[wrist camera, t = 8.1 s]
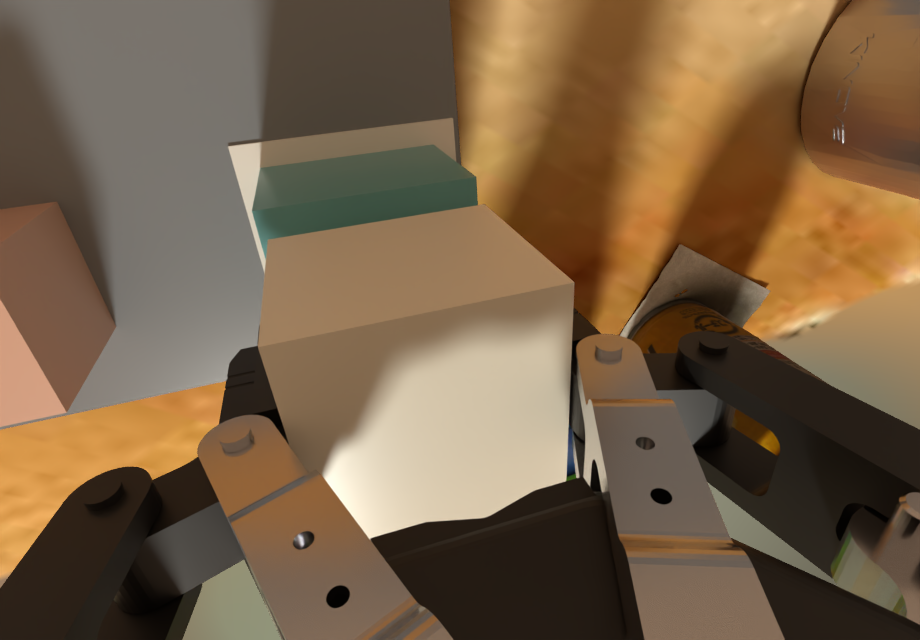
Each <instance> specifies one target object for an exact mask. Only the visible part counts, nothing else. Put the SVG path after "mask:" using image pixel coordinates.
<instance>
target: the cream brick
mask: <svg viewBox="0 0 920 640" xmlns="http://www.w3.org/2000/svg"><path fill="white" fill-rule="evenodd" d="M574 283H575V282H574V281H572V280H571V279H570V278H569V277H568V276H567V275H566V274H564V273H563V272H562V271H561V270H560V269H559V268H557V267H556V266H555V265H554V264H553V263H552V262H551V261H549V260H548V259H547V258H546V257H545V256H544V255H542V254H541V253H540V252H539V251H538V250H537V249H536V248H534V247H533V246H532V245H531V244H530V243H529V242H527V241H526V240H525V239H524V238H523V237H522V236H521V235H519V234H518V233H517V232H516V231H515V230H514V229H512V228H511V227H510V226H509V225H508V224H507V223H506V222H504V221H503V220H502V219H501V218H500V217H499V216H497V215H496V214H495V213H494V212H493V211H492V210H491V209H489V208H488V207H487V206H486V205H485V204H482V205H476V206H470V207H464V208H458V209H452V210H445V211H439V212H433V213H427V214H421V215H415V216H409V217H403V218H397V219H391V220H384V221H378V222H372V223H366V224H360V225H354V226H348V227H342V228H336V229H330V230H324V231H317V232H311V233H305V234H299V235H293V236H287V237H281V238H275V239H269V240H268V243H267V254H266V264H265V275H264V286H263V297H262V308H261V319H260V330H259V340H258V349H259V352H260V355H261V358H262V362H263V365H264V368H265V371H266V374H267V377H268V380H269V383H270V387H271V390H272V393H273V396H274V399H275V402H276V405H277V408H278V412H279V415H280V418H281V421H282V424H283V427H284V430H285V433H286V437H287V440H288V443H289V446H290V447H291V449H292V450H293V451H294V453H295V454H296V456H297V457H298V458H299V460H300V461H301V463H302V464H303V465H304V467H305V468H306V469H307V471H308V472H309V473H310V472H312V471H313V470H317V471H318V472H319V473H320V474H321V475H322V476H323V478H324V479H325V480H326V482H327V483H328V484H329V486H330V487H331V488H332V490H333V491H334V492H335V494H336V495H337V496H338V498H339V499H340V500H341V502H342V503H343V504H344V506H345V507H346V508H347V510H348V511H349V512H350V514H351V515H352V516H353V518H354V519H355V520H356V522H357V523H358V524H359V526H360V527H361V528H362V530H363V531H364V532H365V534H366V535H367V536H368V538H369V539H370V538H373V537H376V536H380V535H383V534H387V533H390V532H393V531H397V530H400V529H404V528H407V527H411V526H414V525H417V524H421V523H424V522H433V521H448V520H463V519H477V518H485V517H488V516H490V515H492V514H494V513H496V512H497V511H499V510H501V509H503V508H504V507H506V506H508V505H510V504H511V503H513V502H515V501H517V500H518V499H520V498H522V497H524V496H526V495H527V494H529V493H531V492H533V491H534V490H538V489H541V488H545V487H548V486H552V485H555V484H558V483H562V482H565V481H566V477H567V453H568V428H569V404H570V380H571V355H572V331H573V307H574Z"/></svg>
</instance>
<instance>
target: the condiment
mask: <svg viewBox="0 0 920 640" xmlns="http://www.w3.org/2000/svg"><path fill="white" fill-rule="evenodd" d="M685 289H687V291H686V292H685V293H683V294H681V292H682V291H683V290H685ZM769 292H770V290H768V289H766V288H764V287H762V286H760V285H758V284H756V283H754V282H753V281H751V280H749V279H747V278H745V277H743V276H741V275H739V274H737V273H735V272H733V271H731V270H729V269H727V268H725V267H724V266H722V265H720V264H717V263H716V262H714V261H712V260H710V259H708V258H706V257H704V256H702V255H700V254H698V253H696V252H695V251H693V250H691V249H689V248H687V247H685V246H683V245H681V244H680V245H679V246H678V248H677V250H676V251H675V253H674V254H673V257H672V258H671V260H670V261H669V263H668V264H667V265H666V266H665V268H664V269H663V271H662V272H661V275H660V277H659V279H658V280H657V282H656V283H655V284H654V285H653V287H652V288H651V290H650V291H649V293H648V295H647V297H646V298H645V300H644V301H643V302H642V303H641V305H640V307H639V308H638V309H637V311H636V312H635V313H634V315H633V316H632V317H631V319H630V320H629V322H628V323H627V325H626V326H625V327H624V329H623V331H622V332H621V334H620V336H622V337H625V338H628V339H630V340H632V341H633V342H635V343H636V344H637V345H638V346H639V347H640V349H641V351H642V353H677V347H678V342H679V340H680V338H681V337H682V336H684V335H686V334H688V333H692V332H698V331H710V332H717V333H722V334H725V335H728V336H731V337H733V338H735V339H737V340H739V341H741V342H743V343H745V344H747V345H749V346H751V347H753V348H755V349H758V350H760V351H762V352H764V353H766V354H768V355H770V356H772V357H774V358H776V359H778V360H780V361H782V362H784V363H786V364H788V365H790V366H792V367H794V368H796V369H798V370H800V371H802V372H804V373H806V374H808V375H810V376H812V377H814V378H816V379H818V380H820V381H822V380H821V379H820V378H818V377H817V376H815V375H814V374H812V373H811V372H809V371H807V370H806V369H804V368H803V367H801V366H799V365H798V364H796V363H795V362H793V361H792V360H790V359H789V358H787V357H786V356H784V355H782V354H781V353H779V352H778V351H776V350H775V349H774V348H772V347H770V346H769V345H767V344H766V343H765V342H763V341H761V340H760V339H759V338H758V337H756V336H754V335H752V334H751V333H749V332H748V331H746V330H744V329H743V328H742V327H743V326H744V324H745V323H746V321H747V320H748V319H749V318H750V316H751V315H752V314H753V313H754V312H755V311H756V310H757V309H758V308H759V307H760V305H761V304H762V302H763V300H764V299H765V298H766V296H767V295H768V294H769ZM676 294H680V295H679V297H674V296H675V295H676ZM822 382H824V381H822ZM824 383H826V382H824ZM826 384H827V383H826ZM828 385H829V384H828ZM830 386H831V385H830ZM732 427H733V428H735V429H736V430H738V431H739V432H741V433H743V434H744V435H746V436H747V437H749V438H750V439H752V440H753V441H755V442H757V443H758V444H760V445H761V446H763V447H764V448H766V449H767V450H769V451H770V452H772V453H774V454H775V455H777V456H778V457H779V454H780V444H779V442H778V440H777V438H776V436H775V435H774V434H773V433H772V432H771V431H770V430H769V429H768V428H766V427H765V426H763V425H762V424H760V423H758V422H757V421H755V420H754V419H752V418H750V417H749V416H747V415H745V414H744V413H742V412H740V411H739V410H737V409H736V410H735V414H734V418H733V422H732Z"/></svg>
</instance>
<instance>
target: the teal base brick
mask: <svg viewBox="0 0 920 640" xmlns="http://www.w3.org/2000/svg"><path fill="white" fill-rule="evenodd" d="M476 205H478V201H477V183H476V176H474V175H473V174H472V173H470V172H469V171H468V170H466V169H465V168H464V167H462V166H461V165H460V164H459V163H457V162H456V161H455V160H453V159H452V158H451V157H449V156H448V155H447V154H445V153H444V152H443V151H441V150H440V149H439V148H437V147H436V146H435V145H434V144H433V145H425V146H418V147H411V148H403V149H396V150H389V151H381V152H374V153H367V154H359V155H352V156H345V157H337V158H330V159H322V160H315V161H308V162H300V163H293V164H286V165H278V166H271V167H264V168H260V171H259V176H258V182H257V187H256V192H255V197H254V202H253V207H252V213H253V217H254V221H255V224H256V228H257V231H258V235H259V238H260V242H261V245H262V249H263V252H264V256H265V259H266V254H267V243H268V240H269V239H275V238H281V237H287V236H293V235H299V234H305V233H311V232H317V231H324V230H330V229H336V228H342V227H348V226H354V225H360V224H366V223H372V222H378V221H384V220H391V219H397V218H403V217H409V216H415V215H421V214H427V213H433V212H439V211H445V210H452V209H458V208H464V207H470V206H476Z"/></svg>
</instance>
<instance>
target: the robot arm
mask: <svg viewBox="0 0 920 640" xmlns="http://www.w3.org/2000/svg"><path fill="white" fill-rule="evenodd" d="M801 132H802V137H803V141H804V146H805V149H806V151H807V153H808V155H809V157H810V159H811V160H812V162H813V163H814V164H815V165H816V166H817V167H818V168H819V169H820V170H821V171H823V172H825V173H827V174H830V175H832V176H834V177H838V178H842V179H846V180H849V181H853V182H857V183H861V184H865V185H868V186H872V187H876V188H880V189H884V190H887V191H891V192H895V193H899V194H903V195H906V196H909V197H912V198H916V199H920V0H852V1H851V2H850V4H849V5H848V6H847V7H846V8H845V10H844V11H843V12H842V13H841V14H840V16H839V17H838V18H837V20H836V22H835V23H834V25H833V26H832V28H831V30H830V31H829V33H828V34H827V36H826V37H825V39H824V41H823V43H822V45H821V47H820V49H819V51H818V54H817V56H816V58H815V60H814V62H813V64H812V67H811V70H810V74H809V77H808V80H807V83H806V86H805V90H804V96H803V102H802V109H801ZM259 330H260V325H259ZM258 340H259V332H258ZM227 378H228V379H227V380H226V386H225V388H226V390H225V392H224V398H223V403H222V409H221V415H220V421H219V425H218V426H216V427H214V428H213V429H212V430H210V431H209V432H208V433H207V434H206V435H205V436H204V437H203V439H202V440H201V442H200V444H199V446H198V451H197V454H198V457H197V458H196V459H194V460H193V461H191V462H189V463H188V464H186V465H184V466H182V467H180V468H178V469H176V470H173V471H171V472H169V473H167V474H165V475H163V476H160V477H158V478H156V479H154V480H152V478H151V476H150V474H149V473H148V472H147V471H146V470H144V469H142V468H139V467H122V468H117V469H113V470H110V471H107V472H104V473H102V474H100V475H98V476H96V477H94V478H92V479H90V480H88V481H87V482H85V483H84V484H82V485H81V486H80V487H78V488H77V489H76V490H75V491H74V492H73V493H71V494H70V495H69V496H68V498H67V499H66V500H65V501H64V502H63V504H62V505H61V507H60V508H59V509H58V511H57V512H56V513H55V515H54V516H53V517H52V519H51V520H50V522H49V523H48V524H47V526H46V527H45V528H44V530H43V531H42V532H41V534H40V535H39V536H38V538H37V539H36V541H35V542H34V543H33V545H32V546H31V547H30V549H29V550H28V551H27V553H26V554H25V555H24V557H23V558H22V560H21V561H20V562H19V564H18V565H17V566H16V568H15V569H14V570H13V572H12V573H11V575H10V576H9V577H8V579H7V580H6V582H5V583H4V584H3V586H2V587H1V588H0V640H182V639H183V636H184V633H185V631H186V628H187V625H188V623H189V620H190V618H191V615H192V612H193V610H194V607H195V604H196V602H197V599H198V597H199V594H200V591H201V588H202V583H203V582H205V581H207V580H208V579H210V578H212V577H214V576H215V575H217V574H219V573H220V572H222V571H224V570H226V569H228V568H230V567H231V566H233V565H235V564H237V563H238V562H240V561H242V560H245V562H246V564H247V567H248V569H249V571H250V573H251V575H252V577H253V579H254V581H255V584H256V586H257V588H258V590H259V592H260V594H261V596H262V598H263V601H264V603H265V605H266V607H267V609H268V612H269V614H270V616H271V618H272V620H273V622H274V624H275V627H276V628H277V631H278V633H279V635H280V637H281V640H920V430H919V429H917V428H915V427H913V426H911V425H909V424H907V423H905V422H903V421H901V420H899V419H897V418H895V417H893V416H891V415H889V414H887V413H885V412H883V411H881V410H879V409H877V408H875V407H873V406H871V405H869V404H867V403H865V402H863V401H861V400H859V399H857V398H855V397H853V396H850V395H849V394H846V393H845V392H842V391H840V390H838V389H836V388H834V387H832V386H830V385H828V384H826V383H824V382H822V381H820V380H818V379H816V378H814V377H812V376H810V375H808V374H806V373H804V372H802V371H800V370H798V369H796V368H794V367H792V366H790V365H788V364H786V363H784V362H782V361H780V360H778V359H776V358H774V357H772V356H770V355H768V354H766V353H764V352H762V351H760V350H758V349H755V348H753V347H751V346H749V345H747V344H745V343H743V342H741V341H739V340H737V339H735V338H733V337H731V336H728V335H725V334H722V333H717V332H710V331H698V332H692V333H688V334H686V335H684V336H682V337H681V338H680V340H679V342H678V347H677V353H642V351H641V349H640V347H639V346H638V345H637V344H636V343H635V342H633V341H632V340H630V339H628V338H625V337H622V336H619V335H613V334H601V333H600V332H599V331H598V330H597V329H596V328H595V327H594V326H593V325H592V324H591V323H590V322H588V321H587V320H586V319H585V318H584V317H583V316H582V315H581V314H580V313H578V311H577V310H576V309H575V308H574V307H573V331H572V355H571V380H570V404H569V425H570V426H571V428H572V449H573V456H574V464H575V472H576V479H572V480H569V481H565V482H562V483H558V484H555V485H552V486H548V487H545V488H541V489H538V490H534V491H533V492H531V493H529V494H527V495H526V496H524V497H522V498H520V499H518V500H517V501H515V502H513V503H511V504H510V505H508V506H506V507H504V508H503V509H501V510H499V511H497V512H496V513H494V514H492V515H490V516H488V517H485V518H477V519H463V520H448V521H433V522H424V523H421V524H417V525H414V526H411V527H407V528H404V529H400V530H397V531H393V532H390V533H387V534H383V535H380V536H376V537H373V538H370V539H369V538H368V536H367V535H366V534H365V532H364V531H363V530H362V528H361V527H360V526H359V524H358V523H357V522H356V520H355V519H354V518H353V516H352V515H351V514H350V512H349V511H348V510H347V508H346V507H345V506H344V504H343V503H342V502H341V500H340V499H339V498H338V496H337V495H336V494H335V492H334V491H333V490H332V488H331V487H330V486H329V484H328V483H327V482H326V480H325V479H324V478H323V476H322V475H321V474H320V473H319V472H318V471H317V470H313V471H312V472H310V473H309V472H308V471H307V469H306V468H305V467H304V465H303V464H302V463H301V461H300V460H299V458H298V457H297V456H296V454H295V453H294V451H293V450H292V449H291V447H290V446H289V443H288V440H287V437H286V433H285V430H284V427H283V424H282V421H281V418H280V415H279V412H278V408H277V405H276V402H275V399H274V396H273V393H272V390H271V387H270V383H269V380H268V377H267V374H266V371H265V368H264V365H263V362H262V358H261V355H260V352H259V349H258V343H257V346H254V347H249V348H244V349H240V351H239V352H238V353H237V354H236V355H235V357H234V358H233V359H232V360H231V362H230V363H229V368H228V374H227ZM736 409H737V410H739V411H740V412H742V413H744V414H745V415H747V416H749V417H750V418H752V419H754V420H755V421H757V422H758V423H760V424H762V425H763V426H765V427H766V428H768V429H769V430H770V431H771V432H772V433H773V434H774V435H775V436H776V438H777V440H778V442H779V444H780V454H779V457H778V456H777V455H775V454H774V453H772V452H770V451H769V450H767V449H766V448H764V447H763V446H761V445H760V444H758V443H757V442H755V441H753V440H752V439H750V438H749V437H747V436H746V435H744V434H743V433H741V432H739V431H738V430H736V429H735V428H733V427H732V422H733V418H734V414H735V410H736ZM707 482H708V483H710V484H711V485H712V486H713V487H715V488H716V489H717V490H719V491H720V492H721V493H722V494H724V495H725V496H726V497H728V498H729V499H730V500H732V501H733V502H734V503H735V504H737V505H738V506H739V507H741V508H742V509H743V510H745V511H746V512H747V513H748V514H750V515H751V516H752V517H753V518H755V519H756V520H757V521H759V522H760V523H761V524H763V525H764V526H765V527H766V528H768V529H769V530H771V531H772V532H773V533H774V534H776V535H777V536H778V537H779V538H781V539H782V540H783V541H785V542H786V543H787V544H788V545H790V546H791V547H792V548H794V549H795V550H796V551H798V552H799V553H800V554H801V555H803V556H804V557H805V558H807V559H808V560H809V561H810V562H812V563H813V564H814V565H816V566H817V567H818V568H820V569H821V570H822V571H823V572H825V573H826V574H827V575H829V576H830V577H831V578H833V579H834V581H835V583H836V585H837V586H835V585H833V584H831V583H829V582H826V581H825V580H822V579H820V578H818V577H816V576H813V575H811V574H809V573H807V572H805V571H803V570H800V569H798V568H796V567H794V566H792V565H789V564H787V563H785V562H782V561H780V560H778V559H776V558H774V557H772V556H770V555H767V554H765V553H763V552H760V551H759V550H756V549H754V548H752V547H750V546H747V545H745V544H743V543H741V542H739V541H737V540H734V539H732V538H730V536H729V534H728V532H727V529H726V527H725V524H724V522H723V519H722V517H721V514H720V512H719V510H718V507H717V505H716V503H715V500H714V498H713V495H712V493H711V490H710V488H709V485H708V483H707Z"/></svg>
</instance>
